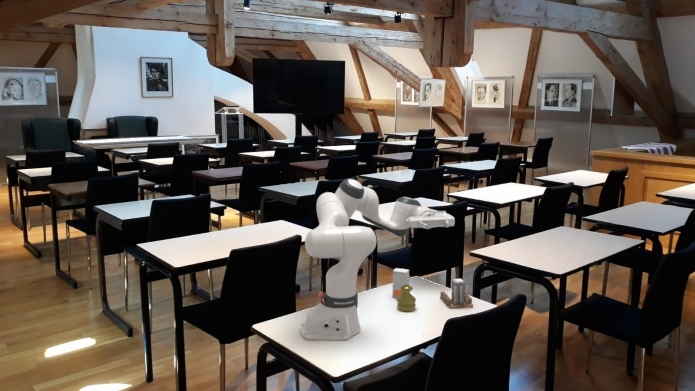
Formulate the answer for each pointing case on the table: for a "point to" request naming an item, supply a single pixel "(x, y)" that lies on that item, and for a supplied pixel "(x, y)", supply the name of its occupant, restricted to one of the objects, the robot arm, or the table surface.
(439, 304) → the table surface
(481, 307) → the table surface
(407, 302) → the brass weight
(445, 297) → the cradle
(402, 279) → the skincare box
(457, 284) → the plug
